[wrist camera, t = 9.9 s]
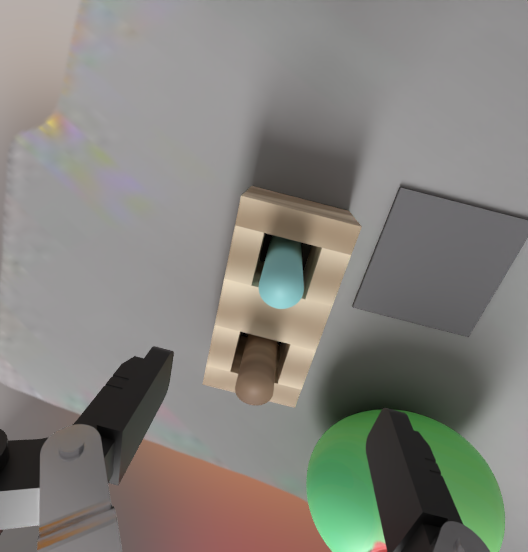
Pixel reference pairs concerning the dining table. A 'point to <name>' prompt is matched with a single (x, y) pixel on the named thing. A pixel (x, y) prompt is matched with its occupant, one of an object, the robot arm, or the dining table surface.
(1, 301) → the dining table surface
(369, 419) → the toy bird
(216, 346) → the hole block
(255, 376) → the walnut peg
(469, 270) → the mat
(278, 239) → the teal peg
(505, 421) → the dining table surface
